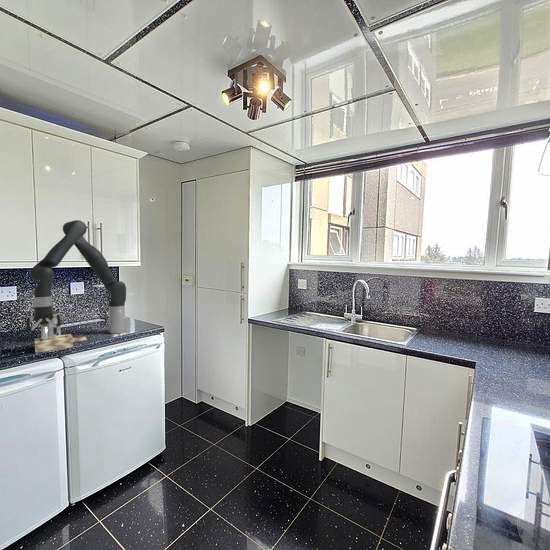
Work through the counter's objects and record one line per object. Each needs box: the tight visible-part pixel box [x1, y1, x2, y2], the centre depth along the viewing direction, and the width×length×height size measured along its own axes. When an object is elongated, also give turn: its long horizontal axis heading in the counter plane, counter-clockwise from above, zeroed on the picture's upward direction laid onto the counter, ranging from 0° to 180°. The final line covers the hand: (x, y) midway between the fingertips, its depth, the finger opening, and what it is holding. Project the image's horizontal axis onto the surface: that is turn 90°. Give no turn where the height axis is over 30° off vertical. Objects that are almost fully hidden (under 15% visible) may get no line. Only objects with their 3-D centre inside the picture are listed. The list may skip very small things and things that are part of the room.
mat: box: [73, 336, 88, 343], centre depth 176 cm, size 8×7×1 cm
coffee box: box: [40, 309, 62, 337], centre depth 177 cm, size 9×6×16 cm
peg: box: [40, 325, 48, 341], centre depth 158 cm, size 3×3×12 cm
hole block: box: [34, 333, 74, 354], centre depth 161 cm, size 16×10×5 cm, turn 130°
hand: (44, 335), depth 158 cm, fingers open, 8 cm apart
